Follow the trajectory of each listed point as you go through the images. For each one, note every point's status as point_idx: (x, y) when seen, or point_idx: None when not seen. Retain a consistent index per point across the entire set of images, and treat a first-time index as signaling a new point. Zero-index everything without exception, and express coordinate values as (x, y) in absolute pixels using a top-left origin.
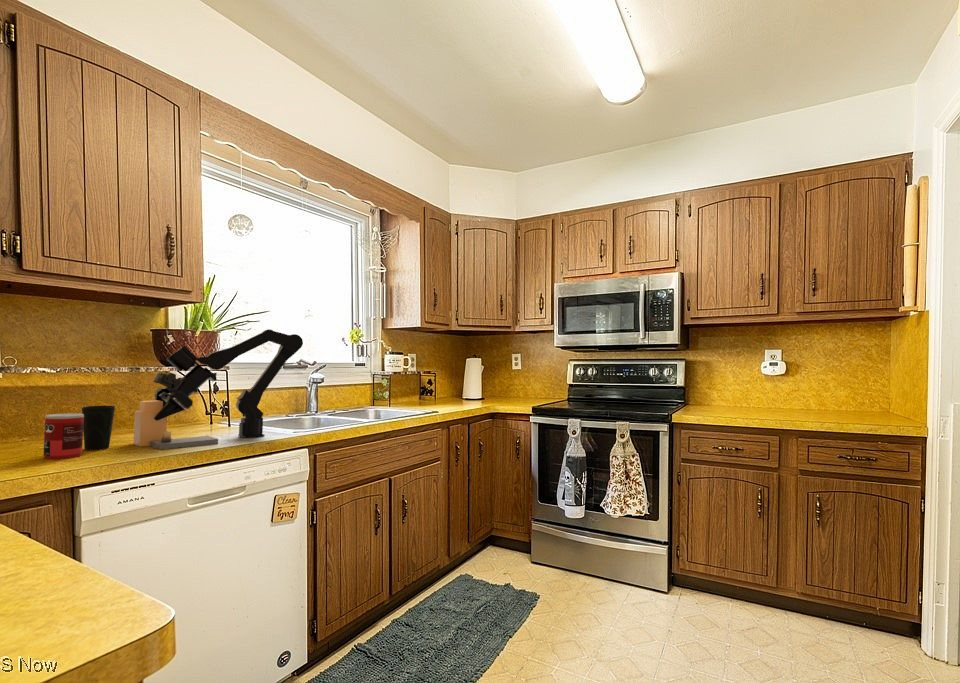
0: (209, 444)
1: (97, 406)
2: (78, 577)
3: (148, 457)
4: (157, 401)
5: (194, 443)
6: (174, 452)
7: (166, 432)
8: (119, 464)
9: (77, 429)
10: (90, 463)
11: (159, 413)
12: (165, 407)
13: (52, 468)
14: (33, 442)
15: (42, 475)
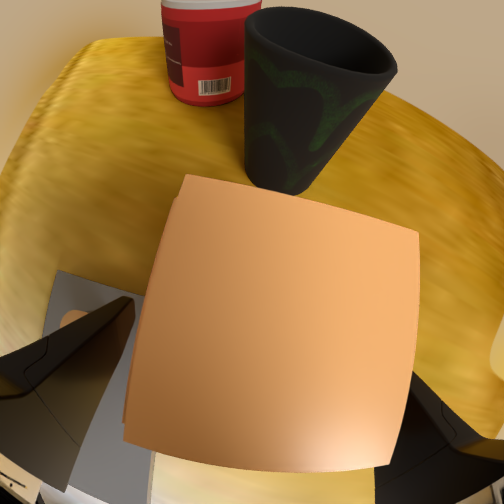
0: None
1: (390, 63)
2: None
3: (17, 194)
4: (168, 382)
5: None
6: (9, 276)
7: (63, 318)
8: (24, 132)
9: (164, 33)
10: (78, 100)
11: (83, 318)
12: (25, 351)
13: (104, 63)
14: (466, 160)
15: (75, 58)
